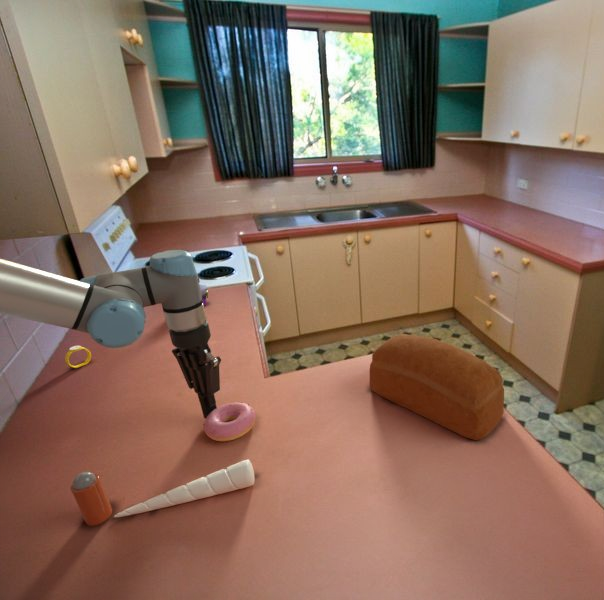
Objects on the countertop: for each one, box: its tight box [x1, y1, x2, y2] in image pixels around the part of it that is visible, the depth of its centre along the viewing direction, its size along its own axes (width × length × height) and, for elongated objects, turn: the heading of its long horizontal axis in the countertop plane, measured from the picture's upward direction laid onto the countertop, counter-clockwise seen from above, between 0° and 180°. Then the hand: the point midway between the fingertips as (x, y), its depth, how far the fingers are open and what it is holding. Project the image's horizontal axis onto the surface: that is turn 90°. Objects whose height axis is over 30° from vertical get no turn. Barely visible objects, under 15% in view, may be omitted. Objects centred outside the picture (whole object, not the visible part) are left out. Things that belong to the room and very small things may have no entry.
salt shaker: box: [70, 471, 113, 527], centre depth 73 cm, size 4×4×10 cm
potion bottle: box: [198, 277, 209, 307], centre depth 158 cm, size 9×9×12 cm
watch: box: [64, 344, 92, 369], centre depth 121 cm, size 6×3×6 cm, turn 151°
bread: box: [369, 333, 505, 441], centre depth 100 cm, size 14×33×16 cm, turn 50°
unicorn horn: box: [113, 459, 256, 518], centre depth 78 cm, size 5×24×5 cm, turn 106°
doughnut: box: [203, 401, 257, 442], centre depth 95 cm, size 11×11×4 cm
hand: (211, 415), depth 98 cm, fingers closed
